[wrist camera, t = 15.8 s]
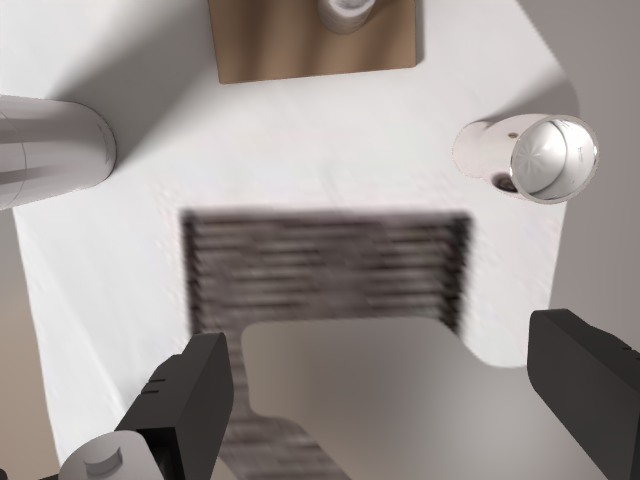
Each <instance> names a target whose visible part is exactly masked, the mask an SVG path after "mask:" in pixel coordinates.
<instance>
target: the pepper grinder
mask: <svg viewBox="0 0 640 480" xmlns="http://www.w3.org/2000/svg"><path fill="white" fill-rule="evenodd" d="M375 1H376V0H318V13H319V17H320V19H321V21H322V23H323V24H324V26H325V27H326V28H327V29H328V30H329V31H331V32H333V33H335V34H338V35H348V34H352V33H354V32H356V31H357V30H358V29H360V28H361V27H362V25H363V24H364V23H365V21H366V19H367V17H368V15H369V13H370V11H371V9H372V7H373V5H374V3H375Z"/></svg>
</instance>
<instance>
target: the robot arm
mask: <svg viewBox="0 0 640 480" xmlns="http://www.w3.org/2000/svg"><path fill="white" fill-rule="evenodd" d="M115 161H116V144H115V140H114V137H113V134H112V132H111V130H110V128H109V126H108V125H107V123H106V122H105V121H104V120H103V118H102V117H101V116H99V115H98V114H97V113H96V112H95V111H93V110H92V109H90V108H88V107H86V106H84V105H81V104H78V103H72V102H64V101H55V100H48V99H38V98H28V97H19V96H9V95H0V210H3V209H7V208H11V207H15V206H19V205H23V204H27V203H30V202H34V201H38V200H42V199H46V198H50V197H54V196H58V195H62V194H66V193H70V192H74V191H78V190H82V189H86V188H89V187H92V186H96V185H97V184H99V183H101V182H102V181H104V180H105V179H106V178H107V177H108V176H109V174H110V172H111V171H112V169H113V167H114V164H115ZM527 371H528V376H529V379H530V382H531V384H532V386H533V388H534V390H535V391H536V392H537V393H538V394H539V396H540V397H541V398H542V399H543V401H544V402H545V403H546V404H547V406H548V407H549V408H550V409H551V410H552V412H553V413H554V414H555V415H556V417H557V418H558V419H559V420H560V421H561V423H562V424H563V425H564V426H565V428H566V429H567V430H568V431H569V432H570V434H571V435H572V436H573V437H574V438H575V440H576V441H577V442H578V443H579V445H580V446H581V447H582V448H583V449H584V451H585V452H586V453H587V454H588V456H589V457H590V458H591V459H592V460H593V462H594V463H595V464H596V465H597V467H598V468H599V469H600V470H601V471H602V472H603V474H604V475H605V476H606V478H607V479H608V480H640V353H639V352H637V351H636V350H632V348H631V347H630V346H628V345H627V344H625V343H624V342H623V341H621V340H620V339H618V338H617V337H616V336H614V335H612V334H610V333H607V332H605V331H603V330H600V329H597V328H595V327H593V326H590V325H589V324H587V323H586V322H585V321H583V320H582V319H581V318H579V317H578V316H576V315H575V314H574V313H572V312H571V311H570V310H568V309H550V310H536V311H534V312H533V313H532V314H531V317H530V325H529V341H528V357H527ZM233 399H234V388H233V380H232V373H231V367H230V361H229V354H228V348H227V341H226V337H225V335H224V333H222V332H220V333H206V334H194V335H193V336H192V338H191V339H190V341H189V343H188V344H187V346H186V348H185V349H184V351H183V352H182V354H177V355H172V356H171V357H170V358H169V359H167V360H166V361H165V362H163V363H162V364H161V365H159V366H158V367H157V369H156V370H155V371H154V373H153V374H152V376H151V377H150V379H149V382H148V383H146V385H145V386H144V388H143V389H142V391H141V394H139V395H138V397H137V398H136V399H135V401H134V402H133V404H132V405H131V407H130V408H129V410H128V411H127V413H126V414H125V416H124V417H123V419H122V420H121V422H120V423H119V424H118V426H117V427H116V429H115V430H114V432H111V433H107V434H104V435H101V436H99V437H97V438H95V439H93V440H91V441H89V442H87V443H85V444H84V445H82V446H81V447H80V448H78V449H77V450H76V451H75V452H73V453H72V454H71V455H70V456H69V457H68V458H67V460H66V461H65V462H64V464H63V465H62V467H61V469H60V472H59V474H56V475H53V476H50V477H46V478H43V479H40V480H210V478H211V475H212V472H213V468H214V465H215V462H216V459H217V456H218V453H219V449H220V446H221V443H222V440H223V437H224V433H225V430H226V427H227V424H228V421H229V417H230V414H231V411H232V407H233ZM0 480H8V477H7V474H6V472H5V471H4V470H2V469H0Z"/></svg>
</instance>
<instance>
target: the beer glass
mask: <svg viewBox="0 0 640 480" xmlns="http://www.w3.org/2000/svg"><path fill="white" fill-rule="evenodd" d="M599 157H600V149H599V143H598V139H597V137H596V135H595V133H594V131H593V130H592V128H591V127H590V126H589V125H588V124H587V123H585V122H584V121H583V120H581V119H579V118H577V117H574V116H570V115H556V114H545V113H531V114H523V115H517V116H513V117H510V118H507V119H504V120H502V121H500V122H497V123H495V124H494V123H492V122H488V121H478V122H474V123H472V124H469V125H468V126H466V127H465V128H463V129H462V130H461V131H460V132H459V134H458V135H457V136H456V138H455V140H454V143H453V146H452V159H453V162H454V164H455V166H456V168H457V169H458V170H459V171H460V172H461V173H462V174H464V175H465V176H468V177H471V178H482V179H483V180H484V181H485V182H486V183H487V184H489V185H490V186H491V187H493V188H494V189H495V190H497V191H499V192H501V193H503V194H505V195H508V196H510V197H514V198H517V199H521V200H526V201H531V202H535V203H539V204H557V203H561V202H564V201H567V200H569V199H571V198H573V197H574V196H576V195H577V194H579V193H580V192H581V191H582V190H583V189H584V188H585V187H586V186H587V185H588V184H589V182H590V181H591V180H592V178H593V176H594V174H595V172H596V170H597V167H598V163H599Z"/></svg>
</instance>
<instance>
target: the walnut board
mask: <svg viewBox="0 0 640 480" xmlns="http://www.w3.org/2000/svg"><path fill="white" fill-rule="evenodd" d="M208 2H209V10H210V17H211V24H212V31H213V39H214V46H215V53H216V60H217V68H218V75H219V82H220V83H221V84H230V83H242V82H253V81H264V80H276V79H287V78H298V77H310V76H321V75H332V74H344V73H355V72H367V71H378V70H389V69H401V68H412V67H415V66H416V45H415V0H376V1H375V3H374V5H373V7H372V9H371V11H370V13H369V15H368V17H367V19H366V21H365V23H364V24H363V25H362V27H361V28H360V29H358V30H357V31H356V32H354V33H352V34H348V35H338V34H335V33H333V32H331V31H329V30H328V29H327V28H326V27H325V26H324V24H323V23H322V21H321V19H320V17H319V13H318V0H208Z"/></svg>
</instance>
